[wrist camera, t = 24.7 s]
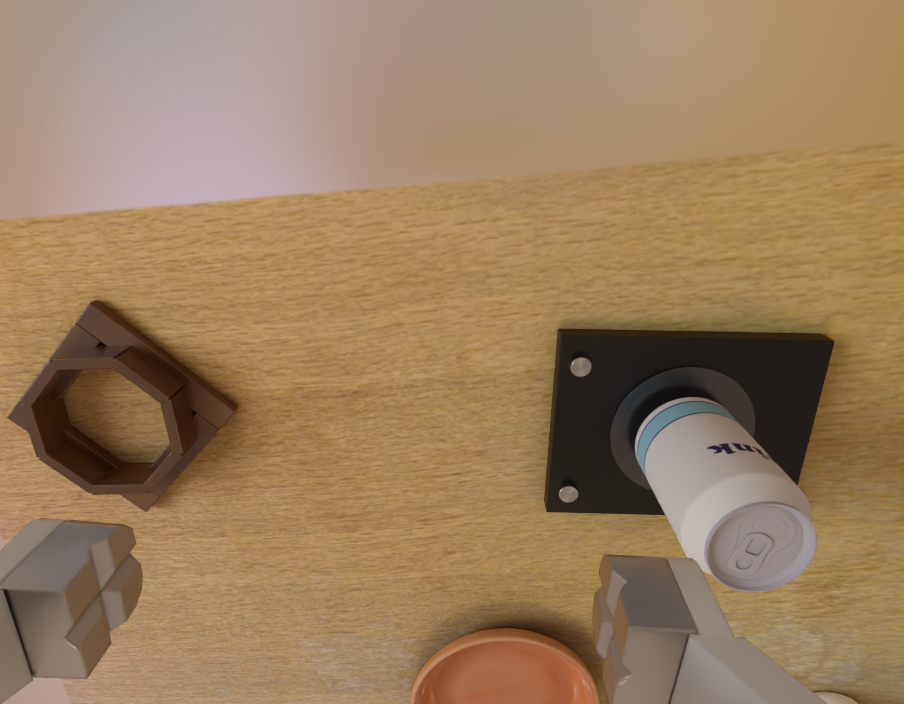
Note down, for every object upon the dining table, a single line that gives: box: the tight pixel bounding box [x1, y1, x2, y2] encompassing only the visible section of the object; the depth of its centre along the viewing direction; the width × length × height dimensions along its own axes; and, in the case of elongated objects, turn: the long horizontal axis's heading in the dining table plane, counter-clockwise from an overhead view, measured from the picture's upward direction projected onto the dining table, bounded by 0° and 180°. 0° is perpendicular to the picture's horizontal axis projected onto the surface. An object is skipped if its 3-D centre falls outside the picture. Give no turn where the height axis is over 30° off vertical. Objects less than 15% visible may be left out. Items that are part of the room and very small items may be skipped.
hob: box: [544, 329, 834, 515], centre depth 42 cm, size 18×14×2 cm
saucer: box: [410, 628, 600, 704], centre depth 51 cm, size 16×16×3 cm
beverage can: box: [635, 397, 817, 592], centre depth 35 cm, size 7×7×12 cm
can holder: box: [7, 300, 238, 512], centre depth 42 cm, size 12×12×3 cm
